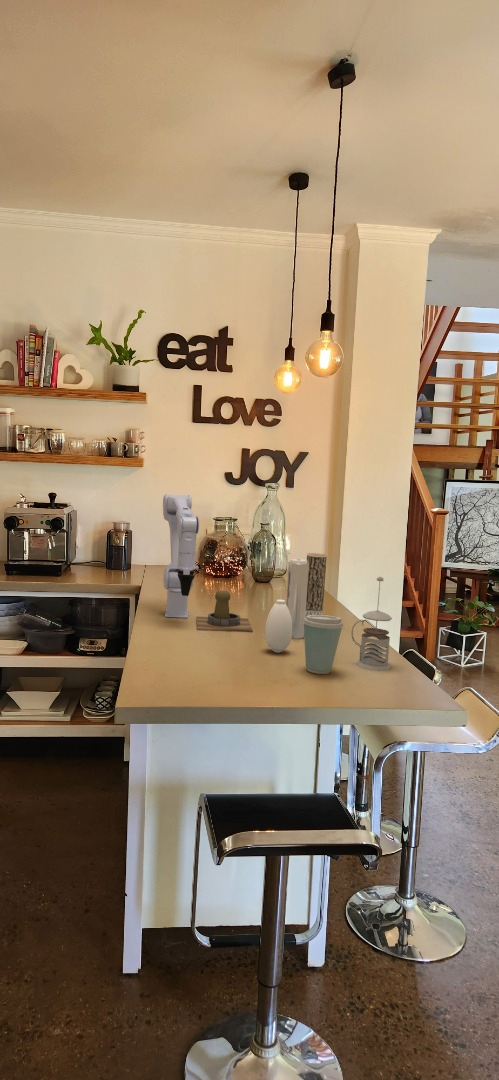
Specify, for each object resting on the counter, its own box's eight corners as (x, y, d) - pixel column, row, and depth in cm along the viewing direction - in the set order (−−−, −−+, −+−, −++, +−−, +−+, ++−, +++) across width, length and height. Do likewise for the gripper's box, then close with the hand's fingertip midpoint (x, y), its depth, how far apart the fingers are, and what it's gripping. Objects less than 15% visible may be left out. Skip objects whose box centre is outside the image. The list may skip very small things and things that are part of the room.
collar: (207, 619, 236) (207, 611, 236) (238, 620, 237) (238, 613, 237) (208, 626, 225) (208, 618, 225) (240, 627, 226) (241, 619, 226)
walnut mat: (196, 618, 239) (196, 616, 239) (247, 620, 241) (247, 618, 241) (197, 630, 221) (197, 628, 221) (252, 632, 223) (252, 630, 223)
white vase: (295, 654, 198) (299, 593, 196) (270, 656, 195) (274, 593, 193) (284, 648, 205) (287, 588, 203) (259, 649, 202) (263, 588, 200)
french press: (391, 671, 186) (398, 580, 184) (348, 666, 188) (355, 576, 186) (391, 662, 196) (398, 575, 193) (350, 657, 198) (356, 572, 196)
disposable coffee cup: (293, 666, 186) (296, 611, 184) (328, 664, 190) (332, 611, 188) (310, 677, 176) (314, 620, 174) (347, 675, 180) (351, 619, 178)
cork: (209, 621, 231) (210, 589, 230) (224, 620, 235) (226, 589, 234) (217, 625, 226) (219, 592, 225) (233, 624, 230) (235, 592, 229)
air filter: (304, 639, 217) (309, 561, 215) (284, 638, 217) (289, 560, 215) (303, 634, 223) (308, 558, 221) (283, 633, 224) (288, 557, 221)
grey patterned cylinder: (299, 623, 240) (304, 552, 238) (317, 623, 242) (322, 553, 240) (306, 628, 234) (311, 555, 231) (324, 627, 236) (330, 555, 233)
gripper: (199, 555, 219) (197, 597, 220) (198, 551, 233) (196, 591, 234) (177, 554, 218) (175, 596, 219) (177, 550, 232) (175, 590, 233)
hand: (185, 593), depth 226 cm, fingers open, 7 cm apart
